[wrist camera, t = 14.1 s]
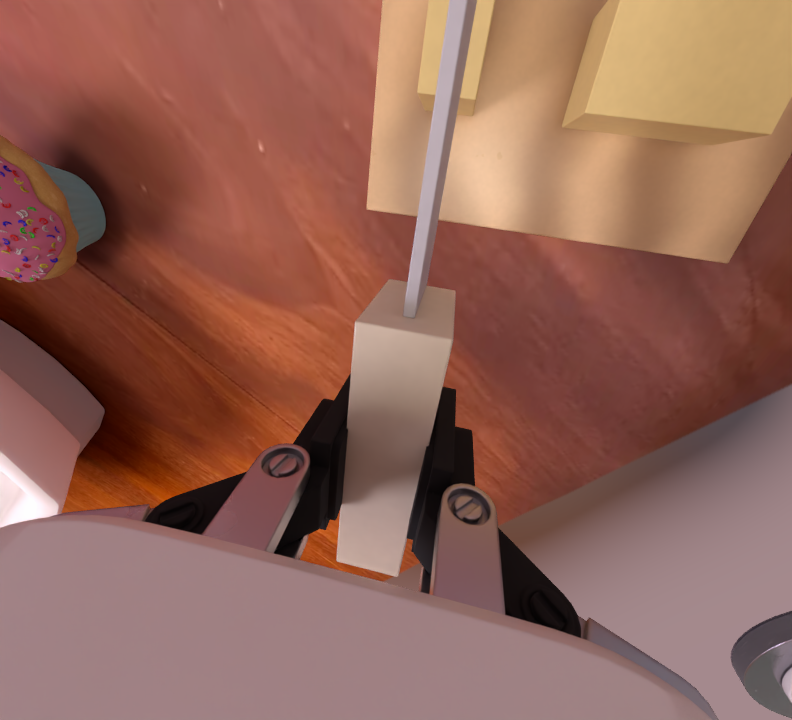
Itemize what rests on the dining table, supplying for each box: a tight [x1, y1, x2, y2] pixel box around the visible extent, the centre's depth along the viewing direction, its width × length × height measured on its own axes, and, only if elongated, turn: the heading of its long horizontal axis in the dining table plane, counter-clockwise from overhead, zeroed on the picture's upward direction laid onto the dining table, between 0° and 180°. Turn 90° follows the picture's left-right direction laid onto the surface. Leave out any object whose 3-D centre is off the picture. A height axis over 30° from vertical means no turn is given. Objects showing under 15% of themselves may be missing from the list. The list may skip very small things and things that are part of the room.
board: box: [367, 0, 792, 264], centre depth 16 cm, size 20×14×2 cm
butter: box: [562, 0, 792, 146], centre depth 14 cm, size 7×4×4 cm, turn 82°
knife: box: [337, 0, 477, 577], centre depth 9 cm, size 19×2×4 cm, turn 172°
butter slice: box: [417, 0, 495, 116], centre depth 15 cm, size 2×4×4 cm, turn 172°
